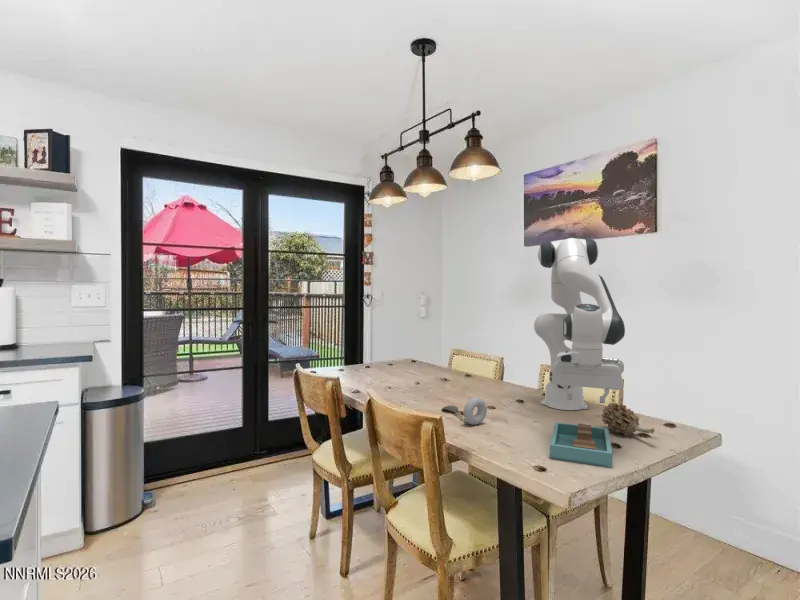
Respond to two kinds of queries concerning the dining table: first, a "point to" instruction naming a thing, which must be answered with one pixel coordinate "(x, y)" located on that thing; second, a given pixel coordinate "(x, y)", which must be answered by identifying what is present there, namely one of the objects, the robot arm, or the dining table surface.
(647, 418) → the dining table surface
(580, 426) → the stepped brown block
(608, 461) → the serving bin
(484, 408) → the donut
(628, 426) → the pine cone
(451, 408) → the soupspoon
